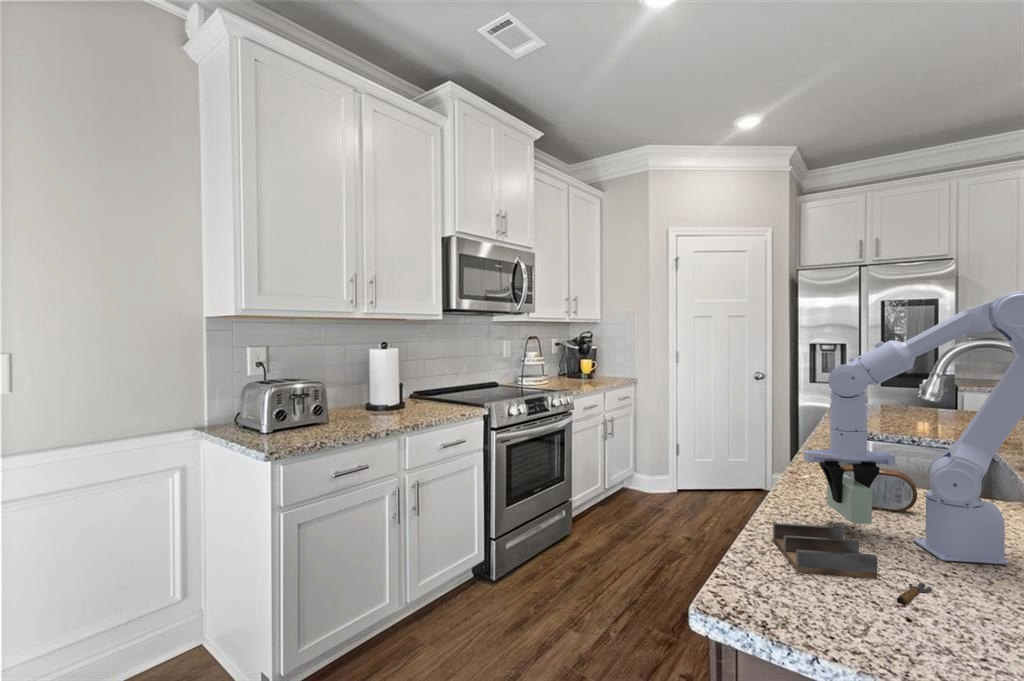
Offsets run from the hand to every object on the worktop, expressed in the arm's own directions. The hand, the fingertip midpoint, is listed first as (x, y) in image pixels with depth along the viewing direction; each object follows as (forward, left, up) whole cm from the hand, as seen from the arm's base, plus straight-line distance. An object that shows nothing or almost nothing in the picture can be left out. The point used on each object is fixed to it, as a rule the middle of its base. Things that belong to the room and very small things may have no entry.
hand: (848, 501), depth 94 cm
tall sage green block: (0, 0, -2) cm, 2 cm away
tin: (-11, -15, -6) cm, 19 cm away
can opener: (+1, +23, -6) cm, 24 cm away
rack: (+10, +13, -6) cm, 17 cm away
